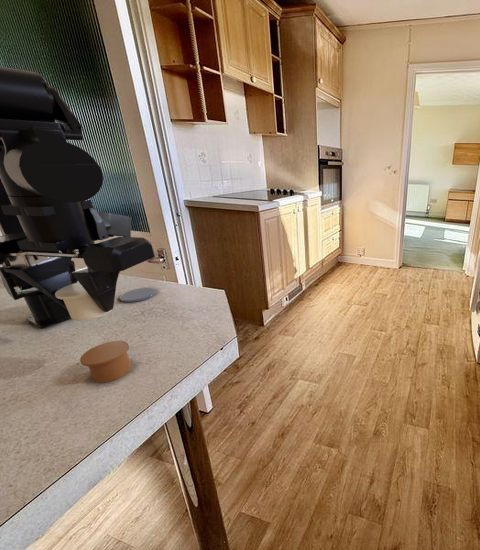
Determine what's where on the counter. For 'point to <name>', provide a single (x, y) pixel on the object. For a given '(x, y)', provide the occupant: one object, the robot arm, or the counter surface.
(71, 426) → the counter surface
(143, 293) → the saucer
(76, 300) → the cream pod
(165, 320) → the counter surface
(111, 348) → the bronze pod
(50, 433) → the counter surface
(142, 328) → the counter surface
